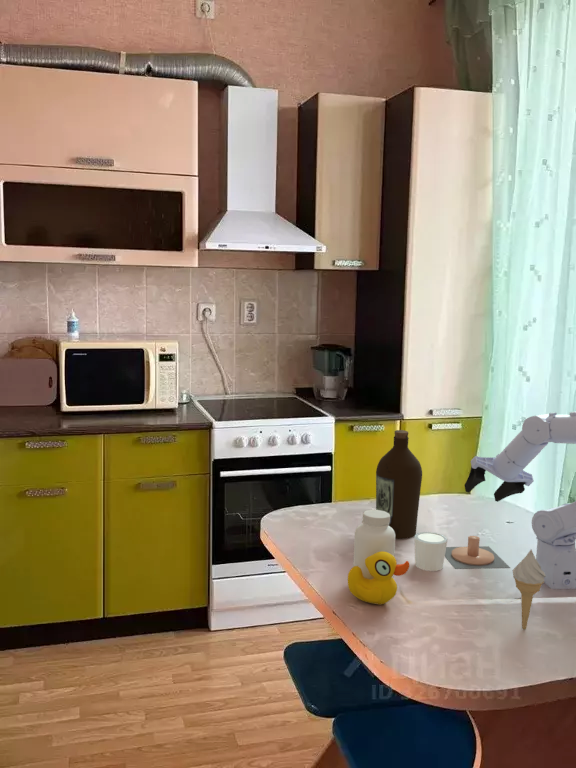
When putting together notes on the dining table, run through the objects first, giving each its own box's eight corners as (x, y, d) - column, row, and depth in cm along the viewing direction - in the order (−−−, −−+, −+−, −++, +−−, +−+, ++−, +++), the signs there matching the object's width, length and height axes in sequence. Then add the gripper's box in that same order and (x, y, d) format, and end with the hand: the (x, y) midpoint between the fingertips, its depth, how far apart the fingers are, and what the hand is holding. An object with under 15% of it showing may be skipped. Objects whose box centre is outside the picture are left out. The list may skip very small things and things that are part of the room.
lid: (500, 564, 160) (502, 545, 159) (459, 565, 159) (461, 545, 158) (484, 548, 168) (486, 530, 168) (445, 549, 167) (447, 530, 167)
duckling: (408, 600, 143) (411, 550, 141) (405, 613, 138) (408, 561, 136) (349, 592, 146) (351, 543, 144) (344, 604, 141) (346, 553, 139)
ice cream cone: (501, 628, 133) (508, 548, 131) (517, 619, 137) (524, 540, 134) (530, 640, 129) (538, 557, 127) (546, 630, 133) (554, 549, 131)
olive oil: (401, 524, 185) (407, 425, 181) (427, 539, 175) (434, 434, 171) (364, 530, 180) (369, 428, 176) (389, 545, 171) (395, 438, 167)
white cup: (443, 563, 161) (445, 532, 160) (447, 576, 155) (449, 544, 154) (411, 561, 162) (413, 530, 161) (413, 574, 155) (415, 542, 154)
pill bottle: (395, 581, 152) (399, 509, 149) (389, 597, 144) (393, 522, 142) (356, 575, 154) (359, 505, 151) (348, 591, 146) (352, 517, 144)
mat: (510, 571, 158) (510, 567, 158) (454, 572, 157) (455, 568, 157) (488, 549, 170) (488, 546, 170) (437, 550, 169) (437, 547, 169)
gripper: (541, 451, 164) (505, 488, 173) (484, 432, 161) (450, 470, 169) (548, 476, 159) (511, 512, 168) (490, 457, 155) (454, 495, 164)
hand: (481, 493), depth 168 cm, fingers open, 7 cm apart
